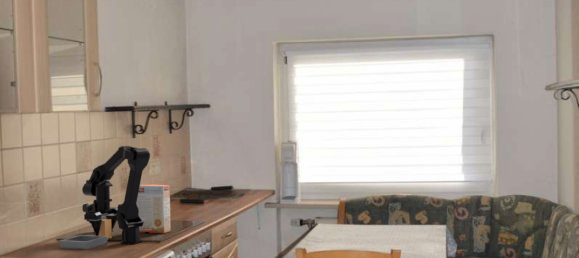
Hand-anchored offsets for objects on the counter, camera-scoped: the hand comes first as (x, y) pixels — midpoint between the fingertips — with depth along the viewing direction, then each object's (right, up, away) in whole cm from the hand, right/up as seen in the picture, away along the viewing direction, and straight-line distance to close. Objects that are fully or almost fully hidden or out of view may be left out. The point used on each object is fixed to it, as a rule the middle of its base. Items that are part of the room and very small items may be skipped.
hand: (103, 233), depth 300 cm
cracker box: (+18, -2, +14) cm, 23 cm away
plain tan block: (0, -2, 0) cm, 2 cm away
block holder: (-4, -3, -16) cm, 16 cm away
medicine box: (-5, -2, +18) cm, 19 cm away
